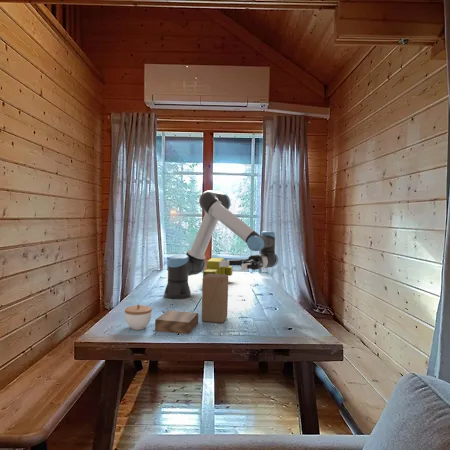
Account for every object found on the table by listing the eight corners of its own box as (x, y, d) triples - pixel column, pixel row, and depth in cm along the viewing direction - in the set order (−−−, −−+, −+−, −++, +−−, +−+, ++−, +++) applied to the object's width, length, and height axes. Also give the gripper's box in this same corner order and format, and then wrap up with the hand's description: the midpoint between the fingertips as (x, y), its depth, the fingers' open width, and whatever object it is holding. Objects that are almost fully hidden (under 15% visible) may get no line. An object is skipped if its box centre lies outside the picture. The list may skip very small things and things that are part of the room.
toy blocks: (212, 257, 257) (233, 258, 254) (211, 278, 257) (233, 280, 255) (201, 263, 222) (226, 264, 220) (201, 288, 223) (225, 289, 220)
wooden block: (223, 323, 148) (224, 278, 148) (200, 321, 150) (202, 276, 150) (227, 317, 158) (228, 274, 158) (206, 315, 160) (207, 273, 160)
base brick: (155, 331, 137) (155, 319, 137) (167, 321, 151) (167, 310, 151) (188, 335, 134) (189, 322, 134) (198, 324, 148) (198, 312, 148)
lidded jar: (135, 321, 148) (135, 300, 148) (156, 325, 144) (156, 303, 144) (118, 329, 138) (119, 306, 138) (140, 333, 134) (141, 309, 134)
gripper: (277, 271, 169) (251, 276, 153) (238, 266, 185) (211, 270, 169) (277, 256, 169) (252, 260, 153) (238, 252, 185) (211, 255, 169)
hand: (230, 265), depth 161 cm, fingers open, 13 cm apart
